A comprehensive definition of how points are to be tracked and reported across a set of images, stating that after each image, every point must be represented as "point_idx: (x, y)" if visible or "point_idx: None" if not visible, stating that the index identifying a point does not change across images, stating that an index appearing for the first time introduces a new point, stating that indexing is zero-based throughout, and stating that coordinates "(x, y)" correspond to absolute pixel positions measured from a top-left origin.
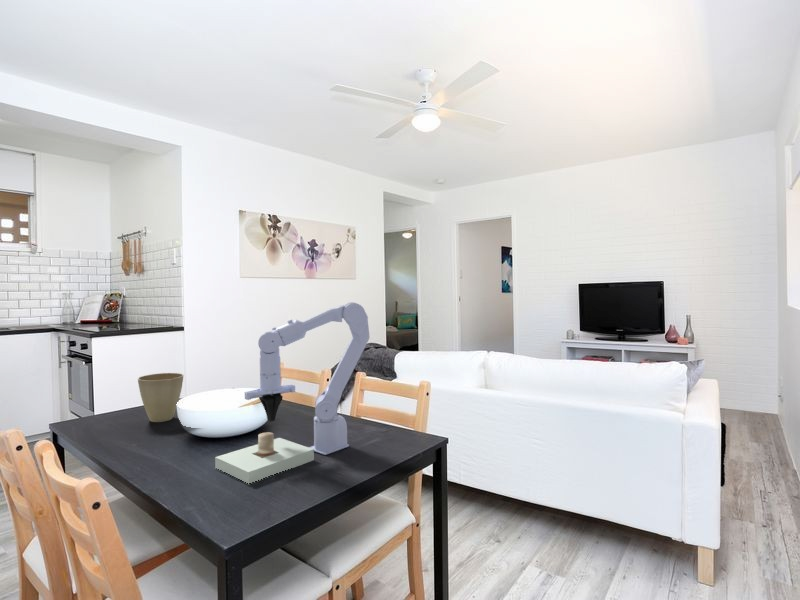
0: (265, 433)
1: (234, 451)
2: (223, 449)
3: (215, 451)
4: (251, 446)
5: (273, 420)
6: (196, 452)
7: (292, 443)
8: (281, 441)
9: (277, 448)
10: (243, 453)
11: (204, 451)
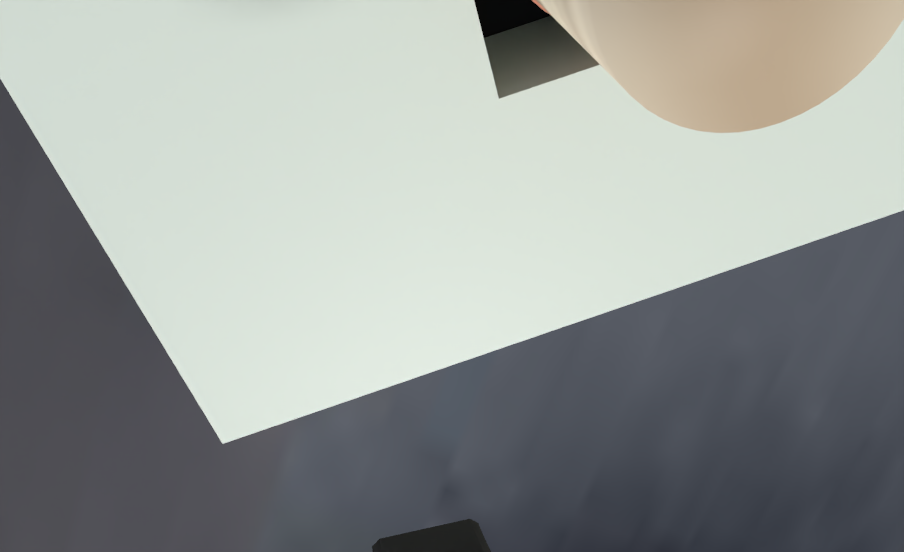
0: (731, 59)
1: (876, 212)
2: (710, 515)
3: (779, 496)
4: (647, 285)
5: (410, 541)
6: (888, 526)
7: (78, 118)
8: (232, 293)
9: (379, 10)
10: None
11: (838, 525)
